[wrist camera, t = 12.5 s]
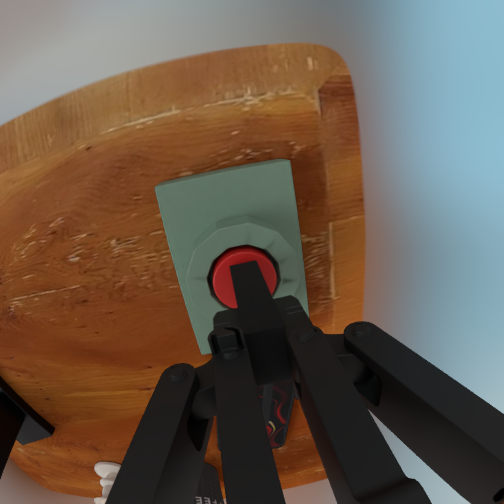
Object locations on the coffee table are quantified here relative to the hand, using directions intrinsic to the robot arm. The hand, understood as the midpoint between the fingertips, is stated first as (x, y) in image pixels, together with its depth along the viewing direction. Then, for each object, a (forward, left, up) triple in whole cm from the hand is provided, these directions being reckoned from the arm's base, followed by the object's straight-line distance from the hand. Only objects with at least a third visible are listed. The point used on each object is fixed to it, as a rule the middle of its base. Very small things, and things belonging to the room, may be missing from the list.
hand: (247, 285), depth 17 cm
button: (0, 0, -2) cm, 2 cm away
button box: (0, 0, -5) cm, 5 cm away
